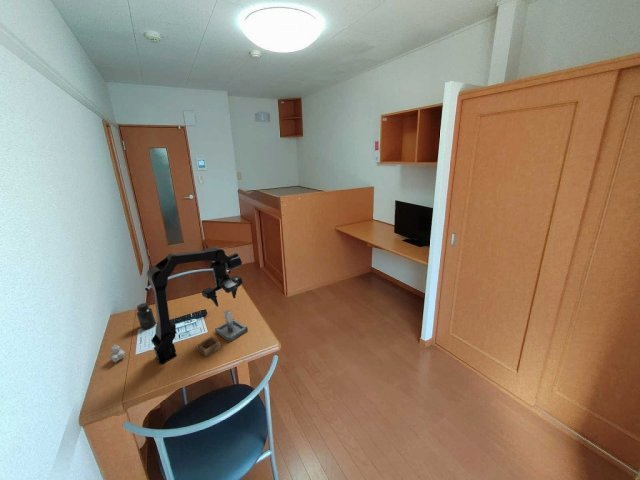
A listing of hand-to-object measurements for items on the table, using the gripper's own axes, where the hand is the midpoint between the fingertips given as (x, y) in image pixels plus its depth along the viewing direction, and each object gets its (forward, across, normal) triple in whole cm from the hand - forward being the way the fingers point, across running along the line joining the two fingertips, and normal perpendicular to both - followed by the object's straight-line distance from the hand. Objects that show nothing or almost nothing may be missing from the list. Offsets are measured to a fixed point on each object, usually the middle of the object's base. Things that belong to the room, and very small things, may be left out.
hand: (226, 302), depth 135 cm
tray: (+12, -3, -6) cm, 14 cm away
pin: (+12, -3, -6) cm, 14 cm away
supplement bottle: (+13, -26, +34) cm, 45 cm away
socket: (+12, -16, -9) cm, 22 cm away
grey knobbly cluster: (+13, -44, +18) cm, 49 cm away
